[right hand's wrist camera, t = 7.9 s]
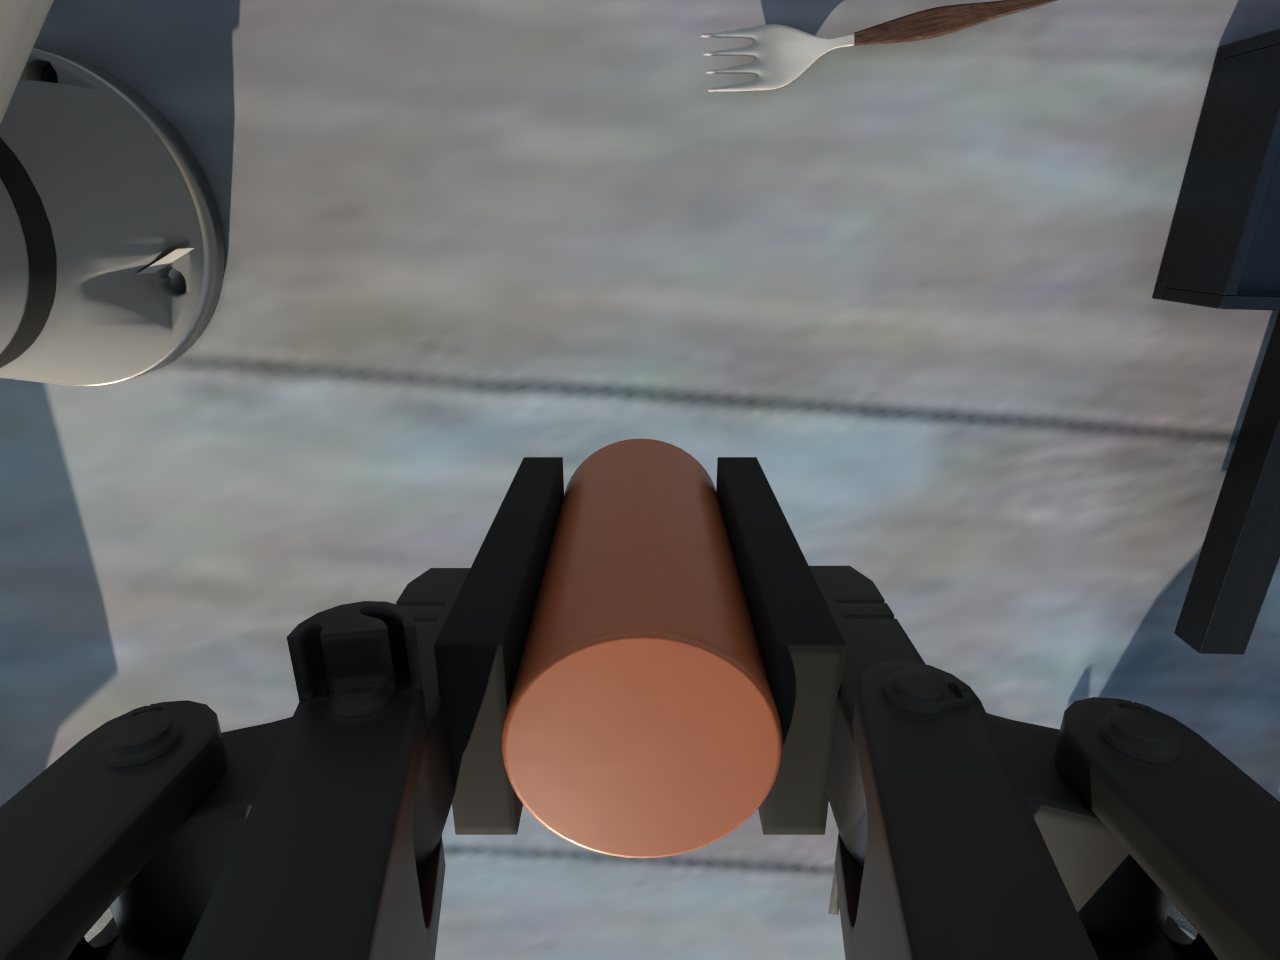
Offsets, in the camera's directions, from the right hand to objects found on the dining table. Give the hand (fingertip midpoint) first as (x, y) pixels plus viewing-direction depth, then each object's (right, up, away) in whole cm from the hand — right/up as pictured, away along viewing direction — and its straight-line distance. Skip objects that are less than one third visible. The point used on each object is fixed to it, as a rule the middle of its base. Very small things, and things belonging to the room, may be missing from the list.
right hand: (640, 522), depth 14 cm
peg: (0, 0, 0) cm, 0 cm away
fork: (+11, +21, +18) cm, 30 cm away
